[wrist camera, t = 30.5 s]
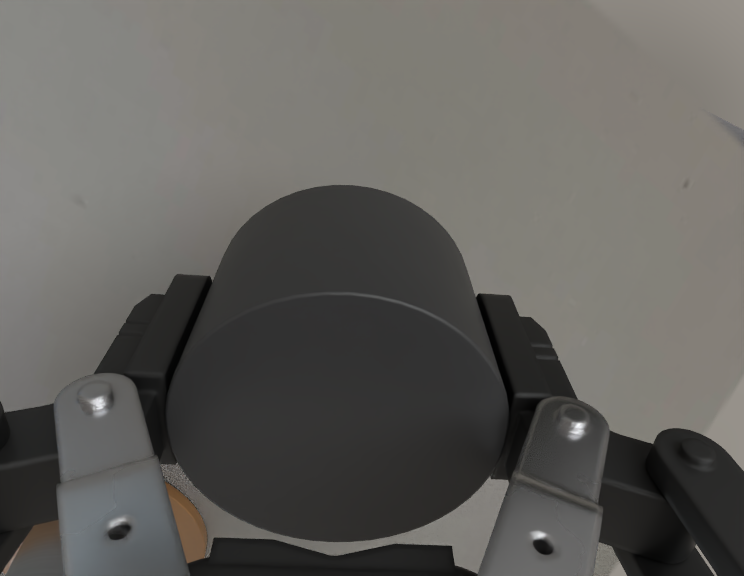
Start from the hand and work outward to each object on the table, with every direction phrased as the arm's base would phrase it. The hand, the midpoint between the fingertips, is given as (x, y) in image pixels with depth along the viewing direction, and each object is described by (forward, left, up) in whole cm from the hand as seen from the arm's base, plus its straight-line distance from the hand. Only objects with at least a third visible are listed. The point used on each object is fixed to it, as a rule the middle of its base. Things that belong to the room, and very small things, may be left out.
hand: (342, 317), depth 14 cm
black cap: (0, 0, -1) cm, 1 cm away
